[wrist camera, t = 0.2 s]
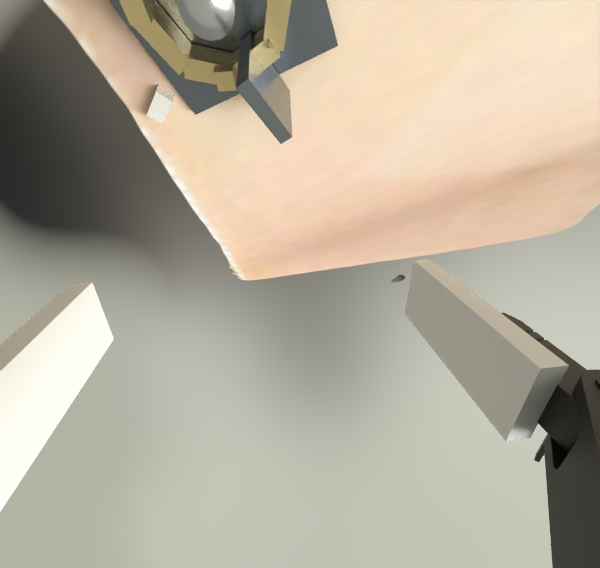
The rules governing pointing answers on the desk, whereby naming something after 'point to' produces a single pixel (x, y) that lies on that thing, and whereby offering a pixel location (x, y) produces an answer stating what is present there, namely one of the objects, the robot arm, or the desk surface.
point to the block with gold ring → (226, 59)
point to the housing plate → (238, 37)
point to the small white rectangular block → (160, 104)
